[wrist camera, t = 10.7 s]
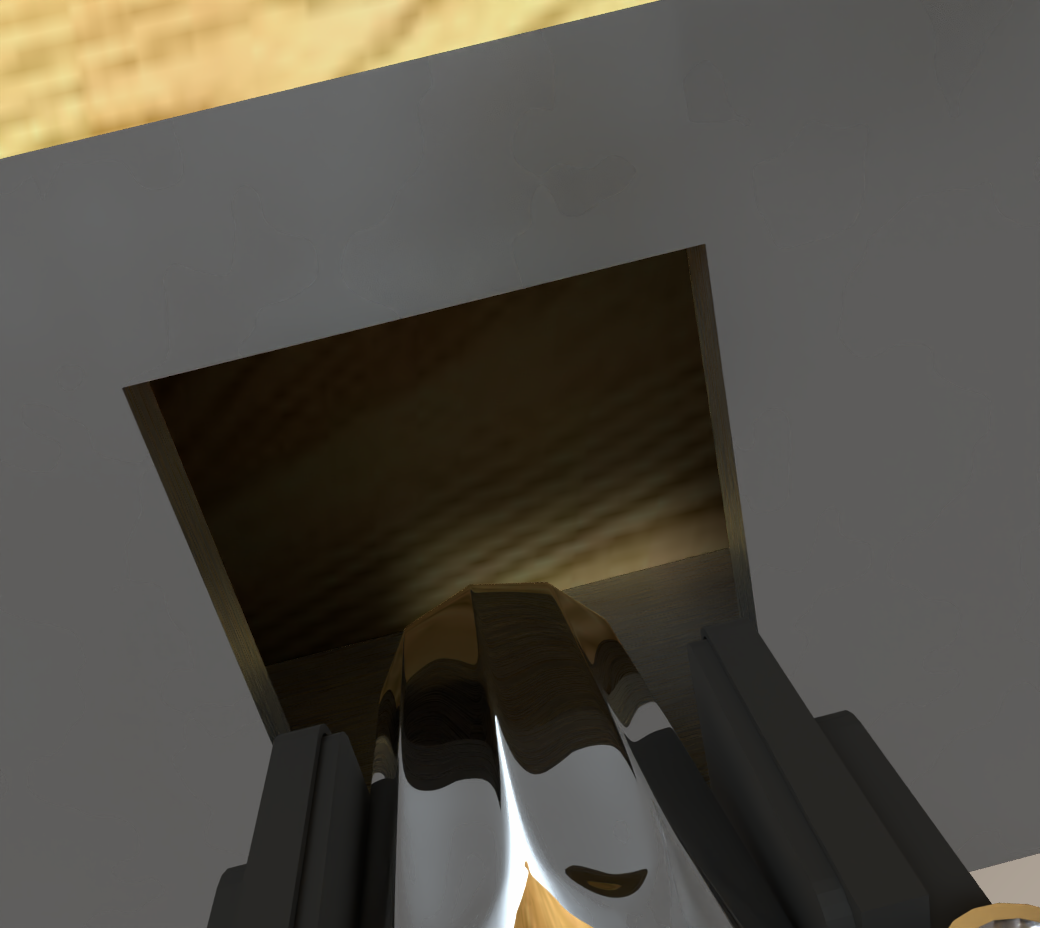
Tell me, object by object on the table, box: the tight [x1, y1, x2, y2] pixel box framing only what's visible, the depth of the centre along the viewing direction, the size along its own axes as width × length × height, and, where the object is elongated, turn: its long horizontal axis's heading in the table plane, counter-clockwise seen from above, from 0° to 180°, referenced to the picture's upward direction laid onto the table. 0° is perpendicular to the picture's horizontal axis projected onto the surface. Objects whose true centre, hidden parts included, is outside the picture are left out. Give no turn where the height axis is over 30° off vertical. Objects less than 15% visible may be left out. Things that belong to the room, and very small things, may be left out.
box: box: [0, 0, 1040, 928], centre depth 19 cm, size 20×16×12 cm
